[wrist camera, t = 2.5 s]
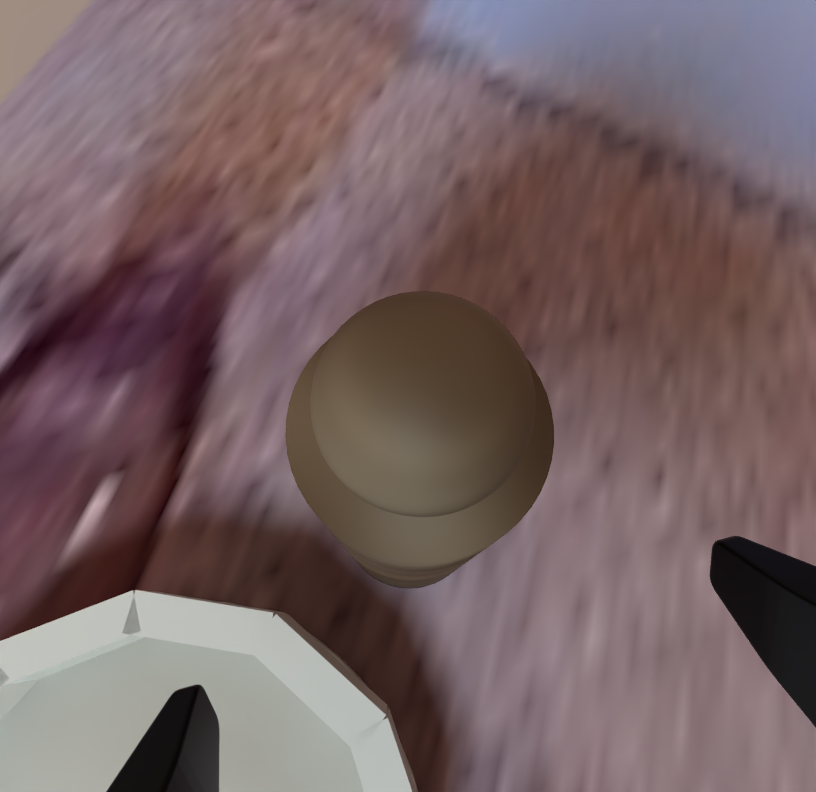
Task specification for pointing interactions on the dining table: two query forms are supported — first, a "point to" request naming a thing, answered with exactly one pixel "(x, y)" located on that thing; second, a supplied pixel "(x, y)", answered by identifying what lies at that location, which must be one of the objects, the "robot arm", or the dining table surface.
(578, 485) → the dining table surface
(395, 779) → the dish
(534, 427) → the pepper mill
